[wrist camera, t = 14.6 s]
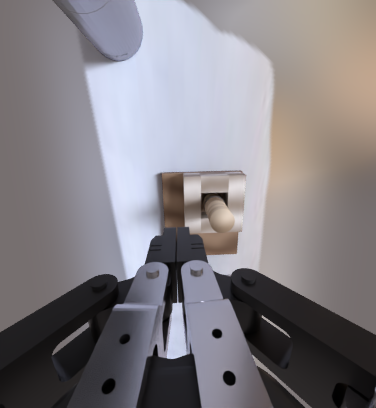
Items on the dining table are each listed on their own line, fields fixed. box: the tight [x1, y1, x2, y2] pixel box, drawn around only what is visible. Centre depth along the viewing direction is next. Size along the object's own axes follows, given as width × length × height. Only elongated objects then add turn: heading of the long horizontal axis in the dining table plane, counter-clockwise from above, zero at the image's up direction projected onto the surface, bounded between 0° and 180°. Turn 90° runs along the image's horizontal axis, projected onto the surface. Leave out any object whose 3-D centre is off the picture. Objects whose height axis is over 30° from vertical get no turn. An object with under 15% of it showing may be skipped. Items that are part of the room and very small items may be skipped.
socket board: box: [162, 171, 246, 255], centre depth 43 cm, size 20×17×6 cm
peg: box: [203, 193, 235, 233], centre depth 37 cm, size 4×4×12 cm
